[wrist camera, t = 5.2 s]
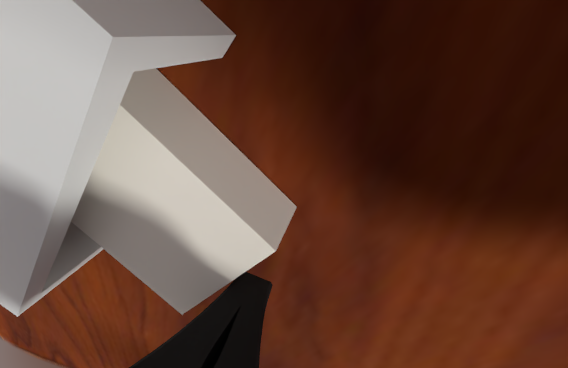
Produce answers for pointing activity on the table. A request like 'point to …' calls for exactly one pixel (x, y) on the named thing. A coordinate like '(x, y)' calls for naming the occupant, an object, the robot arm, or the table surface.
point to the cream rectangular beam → (178, 197)
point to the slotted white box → (73, 116)
